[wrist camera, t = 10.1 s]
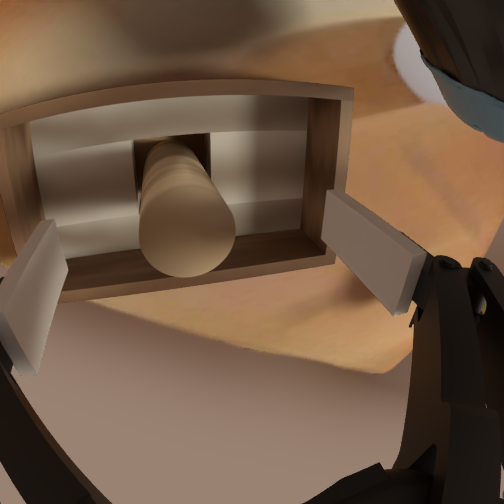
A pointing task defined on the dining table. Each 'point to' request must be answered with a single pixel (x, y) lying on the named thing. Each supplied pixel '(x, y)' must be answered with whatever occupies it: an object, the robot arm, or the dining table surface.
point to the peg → (182, 213)
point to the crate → (216, 166)
